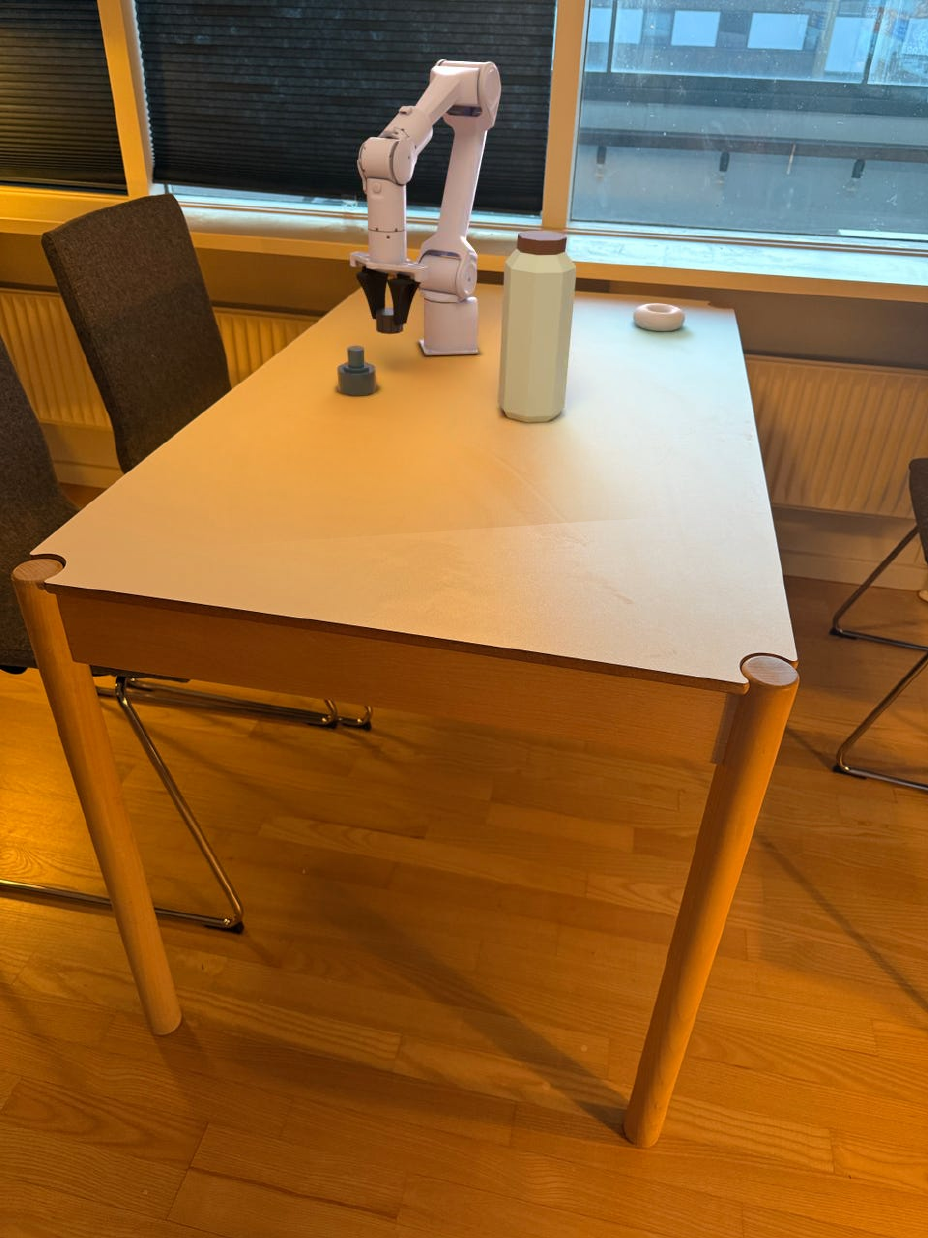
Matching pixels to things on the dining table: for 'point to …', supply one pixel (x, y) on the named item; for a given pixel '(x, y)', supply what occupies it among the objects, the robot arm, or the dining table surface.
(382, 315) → the cap
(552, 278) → the water bottle
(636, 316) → the donut
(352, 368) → the bottle
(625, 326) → the dining table surface
